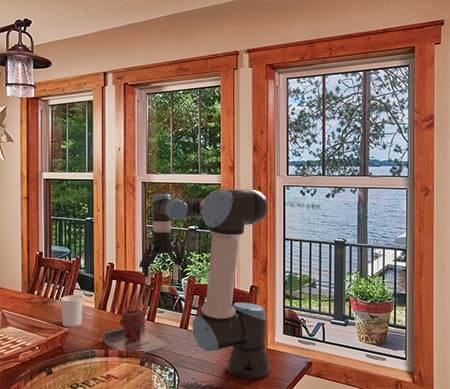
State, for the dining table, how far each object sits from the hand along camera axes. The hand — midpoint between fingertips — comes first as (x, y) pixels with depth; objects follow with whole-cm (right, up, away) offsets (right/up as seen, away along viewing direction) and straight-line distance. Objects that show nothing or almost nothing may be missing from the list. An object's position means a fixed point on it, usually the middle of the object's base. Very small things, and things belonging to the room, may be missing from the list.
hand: (162, 282), depth 184 cm
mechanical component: (-12, -23, -3) cm, 26 cm away
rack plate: (-11, -24, -4) cm, 27 cm away
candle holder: (-44, -23, +20) cm, 54 cm away
